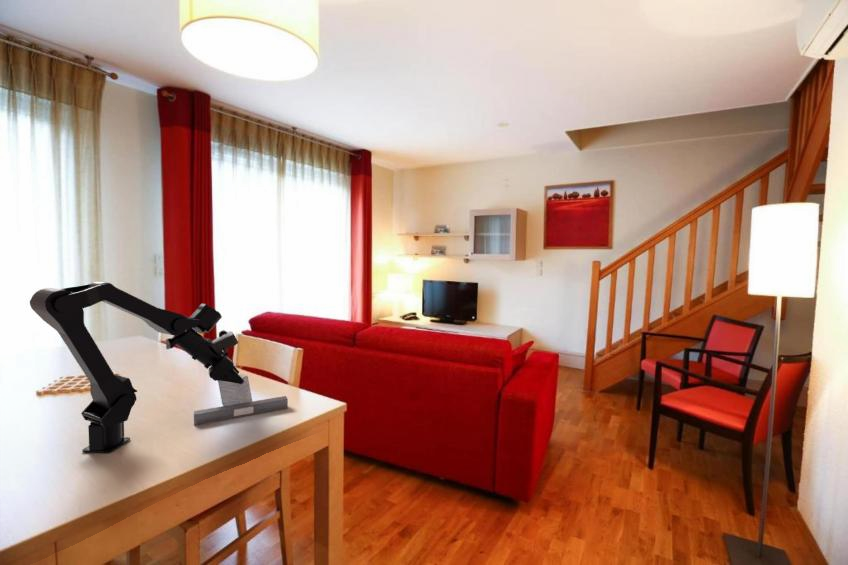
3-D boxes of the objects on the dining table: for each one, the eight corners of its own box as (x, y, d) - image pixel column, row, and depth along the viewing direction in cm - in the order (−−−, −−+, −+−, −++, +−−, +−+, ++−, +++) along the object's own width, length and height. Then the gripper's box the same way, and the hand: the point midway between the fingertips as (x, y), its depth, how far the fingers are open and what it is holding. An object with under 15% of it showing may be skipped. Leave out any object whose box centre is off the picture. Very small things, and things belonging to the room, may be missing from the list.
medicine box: (253, 402, 118) (248, 375, 117) (240, 409, 114) (236, 381, 113) (234, 399, 121) (229, 372, 120) (222, 406, 117) (217, 378, 116)
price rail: (194, 426, 104) (194, 415, 104) (193, 421, 106) (193, 411, 106) (287, 408, 117) (287, 399, 117) (285, 405, 119) (285, 395, 119)
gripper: (223, 330, 105) (267, 364, 112) (215, 318, 120) (255, 349, 127) (189, 363, 101) (237, 396, 108) (186, 346, 117) (228, 377, 124)
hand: (240, 377), depth 117 cm, fingers open, 9 cm apart
